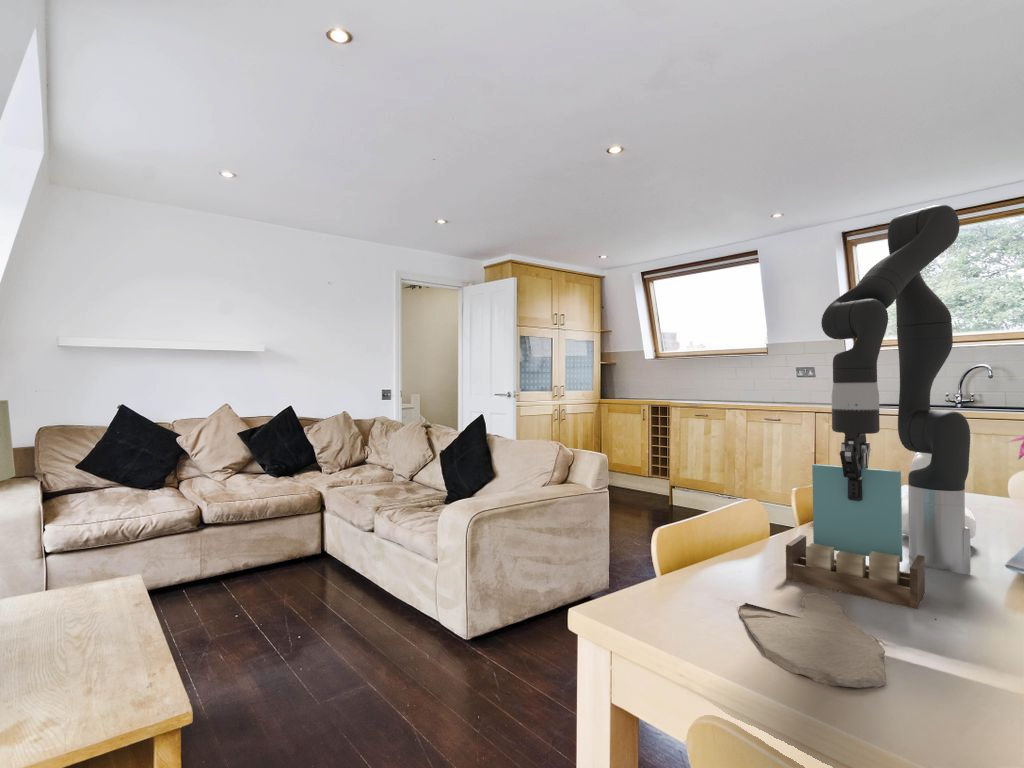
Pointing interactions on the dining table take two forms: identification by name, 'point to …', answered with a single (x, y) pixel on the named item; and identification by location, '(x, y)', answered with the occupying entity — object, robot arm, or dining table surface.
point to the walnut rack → (857, 579)
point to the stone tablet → (818, 643)
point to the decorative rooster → (918, 463)
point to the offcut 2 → (884, 567)
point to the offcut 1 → (820, 556)
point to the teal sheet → (857, 511)
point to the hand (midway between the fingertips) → (856, 499)
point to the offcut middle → (851, 564)
